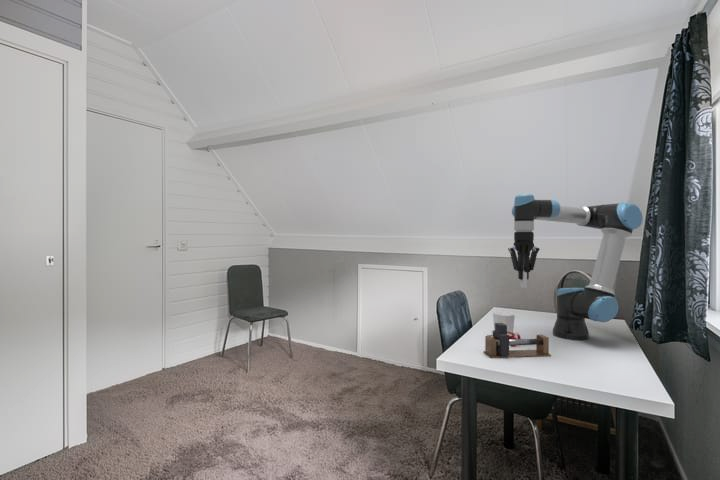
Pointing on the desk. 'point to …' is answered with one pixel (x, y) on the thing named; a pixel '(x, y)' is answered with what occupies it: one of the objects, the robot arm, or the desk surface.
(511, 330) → the cup
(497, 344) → the rail
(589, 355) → the desk surface
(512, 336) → the alarm clock
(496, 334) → the dark grey stepped block
